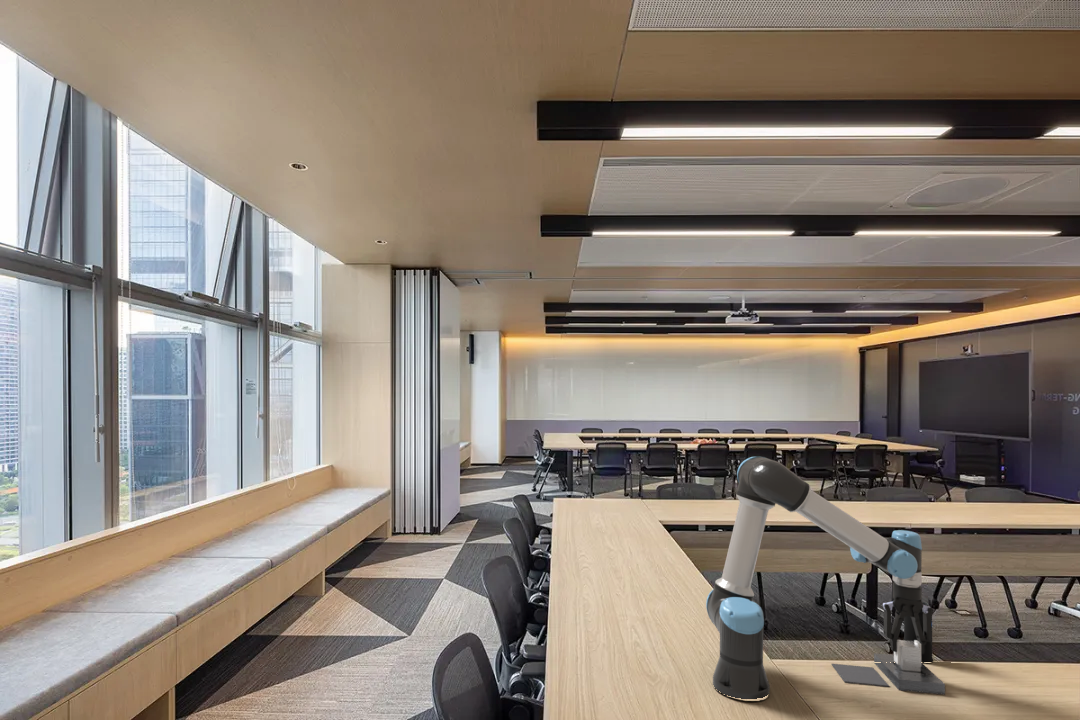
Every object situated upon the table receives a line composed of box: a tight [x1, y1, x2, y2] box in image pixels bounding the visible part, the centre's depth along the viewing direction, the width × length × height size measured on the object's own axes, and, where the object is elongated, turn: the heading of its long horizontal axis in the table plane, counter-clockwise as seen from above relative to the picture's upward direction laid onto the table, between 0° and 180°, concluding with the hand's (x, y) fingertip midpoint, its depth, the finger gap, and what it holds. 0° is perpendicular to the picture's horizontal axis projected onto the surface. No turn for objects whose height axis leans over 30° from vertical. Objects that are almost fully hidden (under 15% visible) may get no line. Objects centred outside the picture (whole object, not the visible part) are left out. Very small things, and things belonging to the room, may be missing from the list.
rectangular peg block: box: [895, 639, 921, 673], centre depth 180 cm, size 5×5×10 cm
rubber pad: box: [830, 663, 890, 688], centre depth 180 cm, size 12×12×1 cm
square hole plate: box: [873, 652, 946, 696], centre depth 179 cm, size 12×18×3 cm, turn 171°
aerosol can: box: [903, 601, 934, 663], centre depth 195 cm, size 8×8×20 cm
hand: (907, 663), depth 179 cm, fingers closed on rectangular peg block, 5 cm apart
